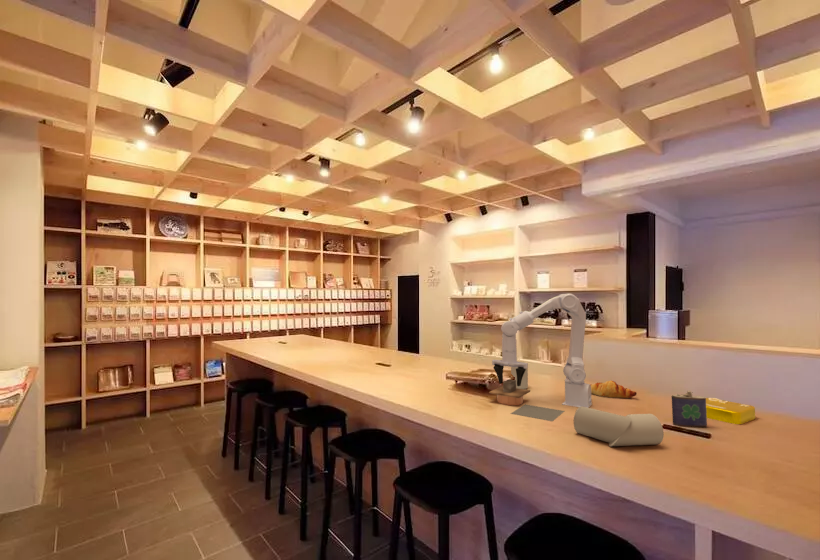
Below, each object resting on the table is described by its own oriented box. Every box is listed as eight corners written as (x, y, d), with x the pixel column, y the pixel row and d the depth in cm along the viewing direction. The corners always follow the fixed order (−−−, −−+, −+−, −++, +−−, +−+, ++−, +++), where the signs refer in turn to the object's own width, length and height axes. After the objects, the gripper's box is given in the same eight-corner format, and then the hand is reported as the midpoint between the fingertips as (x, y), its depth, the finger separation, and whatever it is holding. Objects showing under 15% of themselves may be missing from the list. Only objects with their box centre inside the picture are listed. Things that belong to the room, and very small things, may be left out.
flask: (704, 425, 129) (703, 390, 129) (709, 428, 126) (708, 392, 126) (671, 423, 131) (669, 388, 131) (675, 426, 128) (674, 391, 128)
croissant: (581, 401, 172) (578, 386, 170) (585, 386, 180) (583, 372, 177) (636, 408, 160) (634, 392, 157) (638, 392, 167) (636, 377, 164)
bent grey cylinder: (601, 450, 105) (669, 447, 107) (595, 409, 108) (662, 407, 110) (569, 441, 122) (628, 439, 124) (564, 406, 125) (623, 404, 127)
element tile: (688, 414, 142) (687, 401, 142) (707, 408, 149) (707, 395, 149) (739, 426, 129) (738, 411, 129) (757, 418, 136) (756, 405, 136)
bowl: (526, 401, 158) (526, 391, 158) (517, 407, 150) (517, 396, 150) (503, 398, 164) (503, 388, 164) (493, 403, 156) (493, 393, 156)
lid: (530, 391, 158) (530, 380, 159) (518, 398, 149) (518, 385, 149) (501, 387, 166) (501, 376, 166) (489, 393, 156) (488, 381, 156)
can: (530, 390, 178) (529, 363, 178) (513, 390, 178) (513, 363, 178) (525, 386, 185) (525, 361, 186) (509, 386, 185) (509, 361, 186)
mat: (564, 412, 144) (564, 410, 144) (552, 422, 132) (552, 421, 132) (525, 405, 153) (525, 404, 153) (510, 414, 141) (510, 413, 141)
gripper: (488, 350, 159) (489, 383, 159) (523, 353, 151) (523, 388, 150) (495, 348, 165) (496, 380, 164) (529, 351, 156) (530, 385, 156)
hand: (509, 384), depth 157 cm, fingers open, 7 cm apart
